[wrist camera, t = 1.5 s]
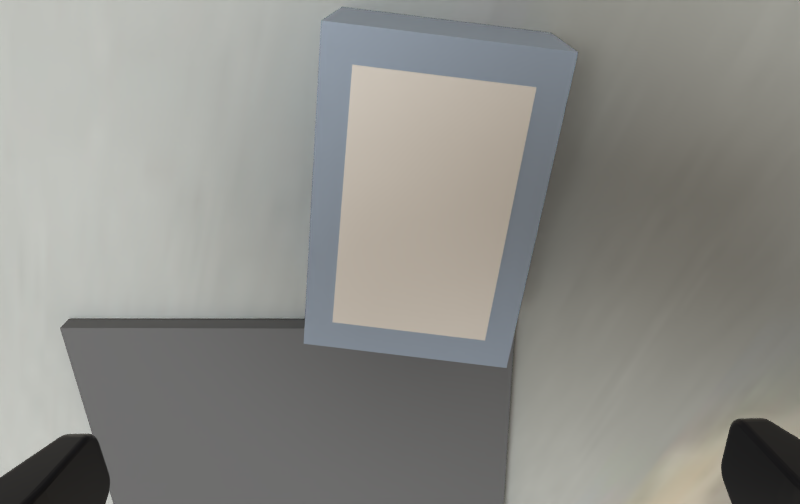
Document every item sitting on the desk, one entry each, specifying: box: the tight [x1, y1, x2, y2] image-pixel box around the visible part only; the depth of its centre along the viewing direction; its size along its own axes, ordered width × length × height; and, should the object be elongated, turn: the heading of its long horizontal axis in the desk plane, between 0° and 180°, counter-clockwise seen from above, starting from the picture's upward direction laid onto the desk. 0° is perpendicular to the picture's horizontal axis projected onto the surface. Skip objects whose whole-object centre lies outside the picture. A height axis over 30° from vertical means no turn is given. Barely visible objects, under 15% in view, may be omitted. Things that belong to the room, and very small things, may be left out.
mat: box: [60, 319, 515, 504], centre depth 24 cm, size 16×10×1 cm, turn 91°
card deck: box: [304, 7, 578, 368], centre depth 18 cm, size 6×9×4 cm, turn 174°
